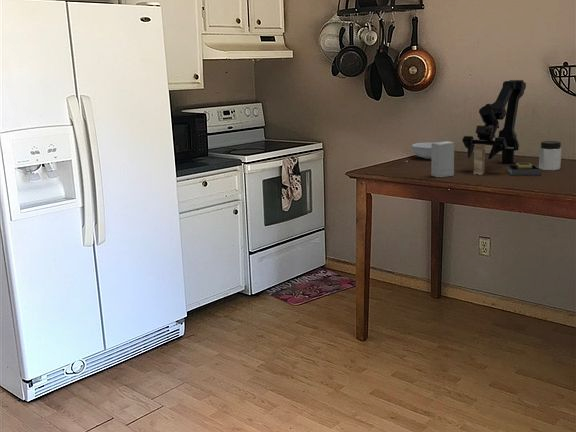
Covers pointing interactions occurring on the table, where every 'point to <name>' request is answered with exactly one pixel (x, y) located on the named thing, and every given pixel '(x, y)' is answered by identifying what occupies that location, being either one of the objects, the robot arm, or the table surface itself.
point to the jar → (550, 155)
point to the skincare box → (442, 159)
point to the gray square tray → (523, 169)
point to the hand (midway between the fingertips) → (478, 158)
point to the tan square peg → (479, 159)
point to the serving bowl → (423, 150)
